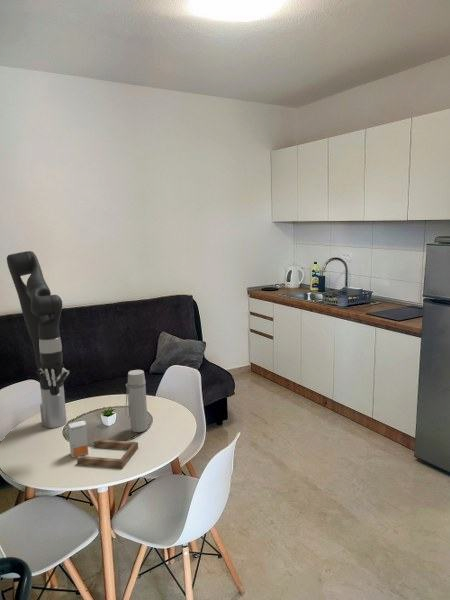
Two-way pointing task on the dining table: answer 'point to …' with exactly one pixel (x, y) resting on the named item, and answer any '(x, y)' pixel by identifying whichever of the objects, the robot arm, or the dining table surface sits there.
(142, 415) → the water bottle
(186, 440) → the dining table surface
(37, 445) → the dining table surface
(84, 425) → the skincare box
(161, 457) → the dining table surface
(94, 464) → the brown wooden frame
